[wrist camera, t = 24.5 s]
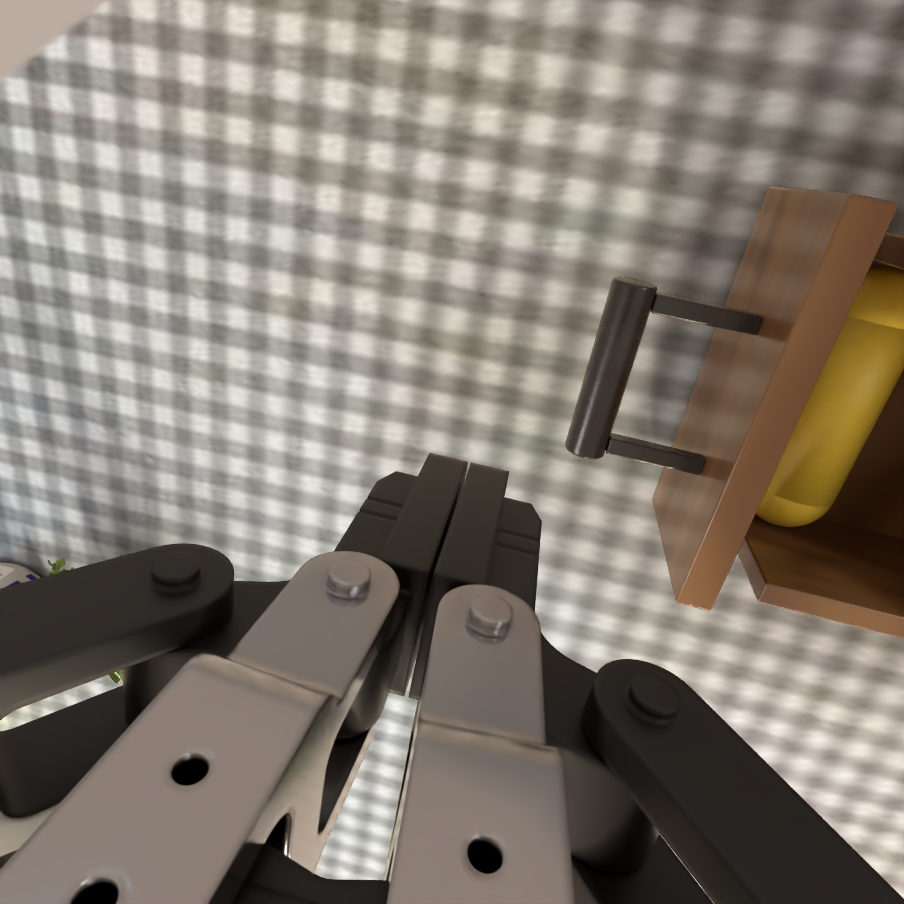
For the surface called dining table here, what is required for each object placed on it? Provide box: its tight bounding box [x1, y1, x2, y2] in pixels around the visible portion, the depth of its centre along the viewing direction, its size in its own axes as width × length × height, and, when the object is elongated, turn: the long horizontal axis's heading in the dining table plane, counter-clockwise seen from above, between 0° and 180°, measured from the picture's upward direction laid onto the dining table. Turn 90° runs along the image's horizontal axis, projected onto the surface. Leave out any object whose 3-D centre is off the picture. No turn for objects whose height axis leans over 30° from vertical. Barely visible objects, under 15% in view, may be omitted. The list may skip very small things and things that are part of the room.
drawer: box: [565, 186, 904, 639], centre depth 21 cm, size 19×13×7 cm
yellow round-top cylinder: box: [756, 265, 904, 527], centre depth 22 cm, size 10×3×3 cm, turn 170°
